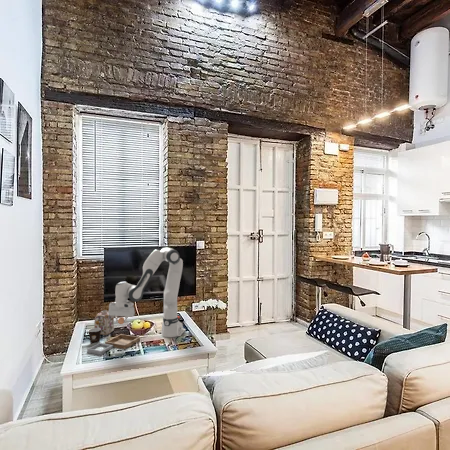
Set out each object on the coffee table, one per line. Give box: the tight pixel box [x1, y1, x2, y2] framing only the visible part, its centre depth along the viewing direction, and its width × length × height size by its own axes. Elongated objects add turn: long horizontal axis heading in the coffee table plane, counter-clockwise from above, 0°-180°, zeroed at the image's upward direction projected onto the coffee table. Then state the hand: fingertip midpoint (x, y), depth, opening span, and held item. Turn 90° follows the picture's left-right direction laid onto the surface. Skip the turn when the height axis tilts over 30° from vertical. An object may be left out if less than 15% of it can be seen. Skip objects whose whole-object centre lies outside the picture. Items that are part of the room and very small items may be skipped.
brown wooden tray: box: [104, 333, 141, 350], centre depth 245 cm, size 18×18×4 cm
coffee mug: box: [83, 328, 101, 345], centre depth 248 cm, size 12×9×10 cm
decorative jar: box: [93, 310, 115, 336], centre depth 270 cm, size 12×12×18 cm
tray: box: [86, 342, 114, 356], centre depth 233 cm, size 12×12×3 cm
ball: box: [117, 316, 125, 325], centre depth 244 cm, size 5×5×5 cm
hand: (121, 321), depth 244 cm, fingers closed on ball, 5 cm apart
